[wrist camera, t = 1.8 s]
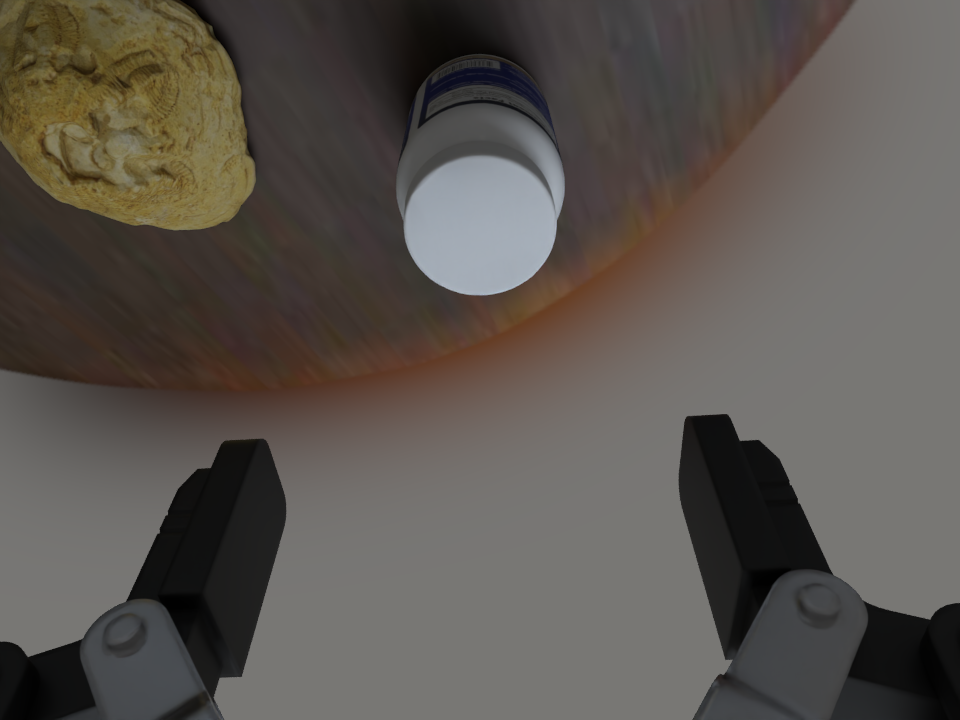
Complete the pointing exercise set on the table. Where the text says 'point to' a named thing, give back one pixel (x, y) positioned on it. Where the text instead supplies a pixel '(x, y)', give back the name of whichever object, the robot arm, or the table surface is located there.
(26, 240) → the table surface
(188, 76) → the fossil
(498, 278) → the pill bottle
